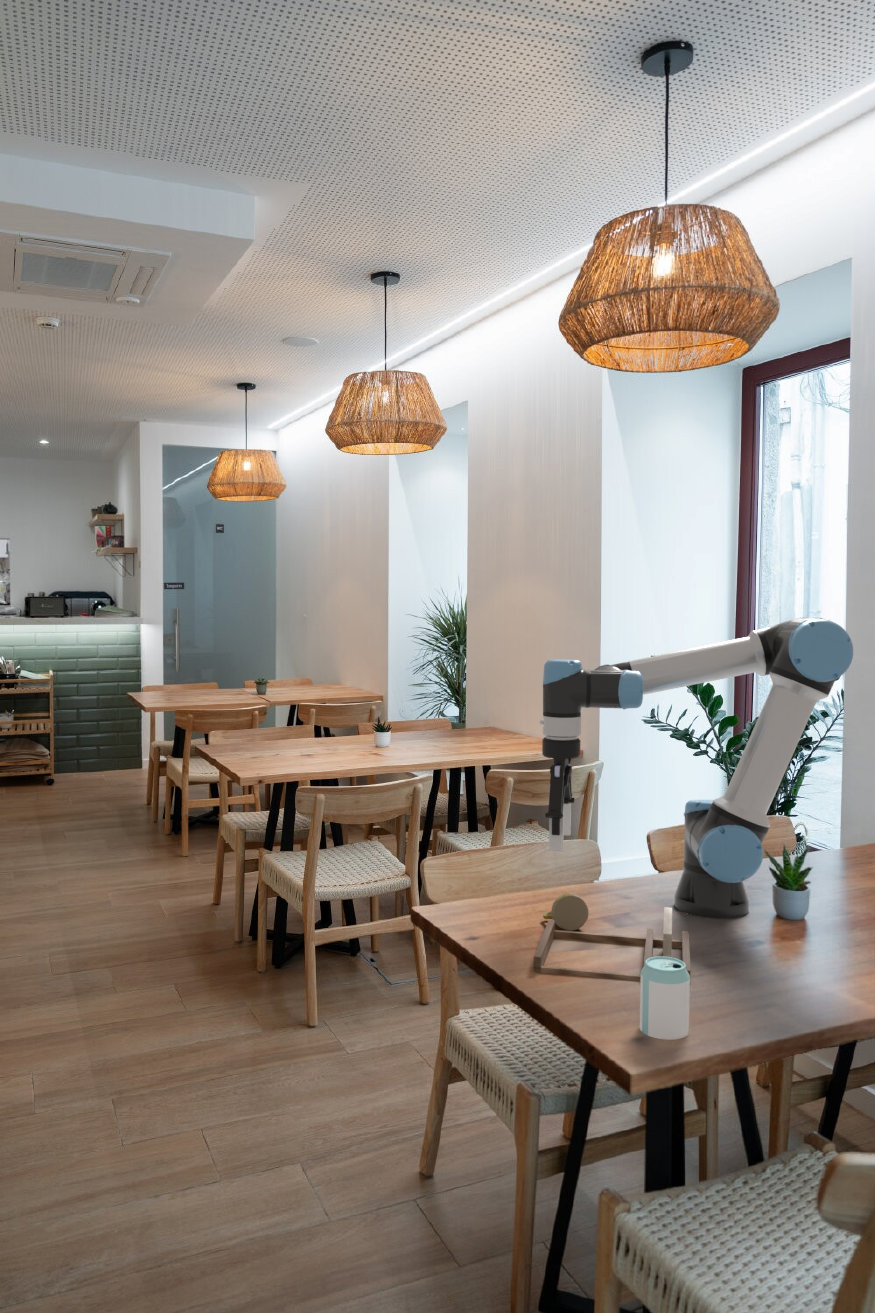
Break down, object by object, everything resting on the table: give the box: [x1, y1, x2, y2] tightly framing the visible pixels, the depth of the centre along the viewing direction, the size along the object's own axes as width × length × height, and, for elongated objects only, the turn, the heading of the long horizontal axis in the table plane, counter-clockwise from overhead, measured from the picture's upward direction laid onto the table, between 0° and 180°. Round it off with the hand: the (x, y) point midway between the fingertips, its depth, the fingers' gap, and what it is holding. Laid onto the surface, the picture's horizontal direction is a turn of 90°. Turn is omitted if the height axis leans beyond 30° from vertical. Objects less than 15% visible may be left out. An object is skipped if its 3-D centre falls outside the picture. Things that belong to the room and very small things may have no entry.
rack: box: [533, 906, 691, 982], centre depth 176 cm, size 26×20×9 cm
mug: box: [542, 893, 590, 932], centre depth 196 cm, size 8×10×10 cm
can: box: [639, 955, 691, 1041], centre depth 145 cm, size 7×7×12 cm
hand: (560, 842), depth 198 cm, fingers open, 13 cm apart
